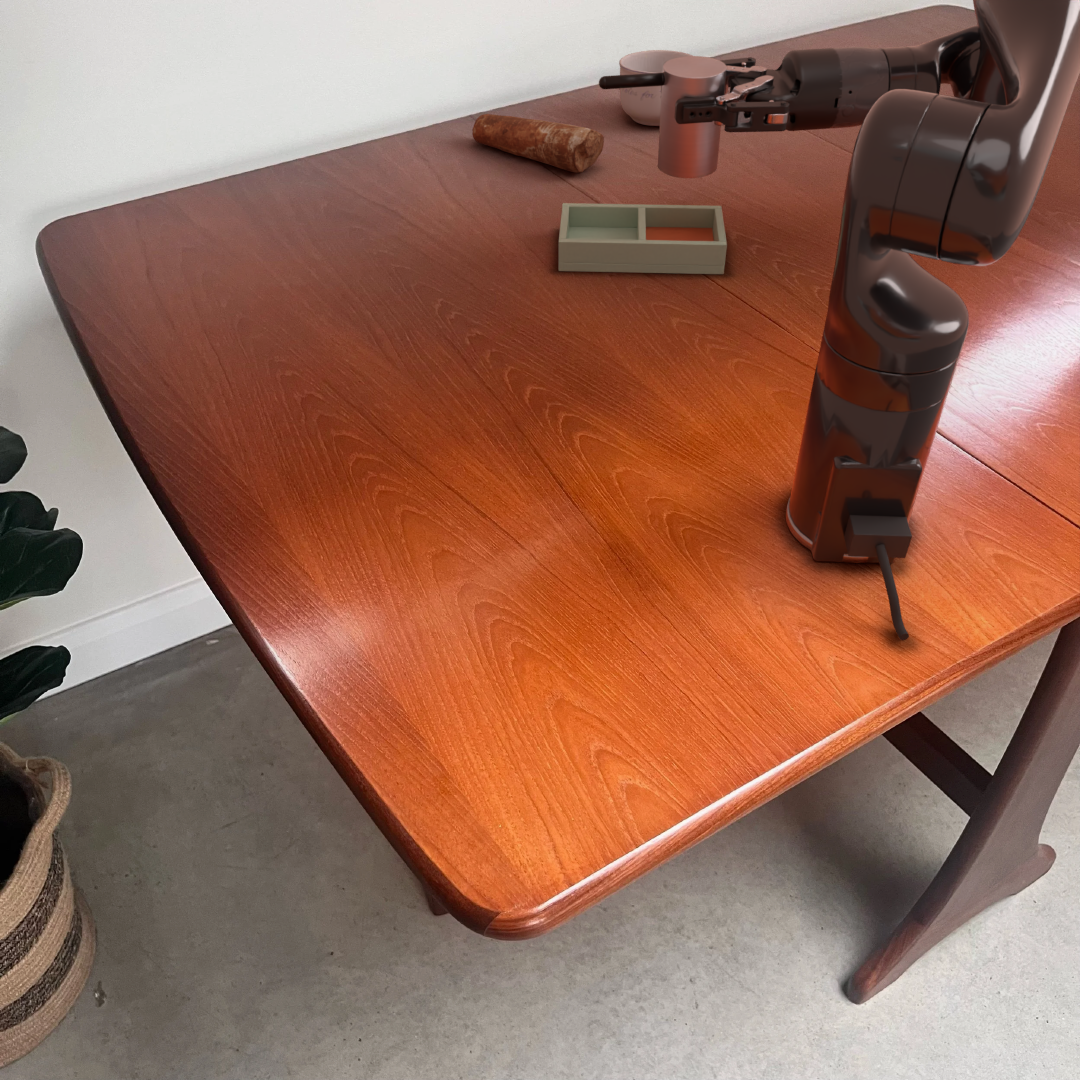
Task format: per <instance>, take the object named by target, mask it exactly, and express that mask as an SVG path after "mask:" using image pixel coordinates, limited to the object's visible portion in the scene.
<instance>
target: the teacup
mask: <svg viewBox="0 0 1080 1080" xmlns="http://www.w3.org/2000/svg"><path fill="white" fill-rule="evenodd" d="M685 56H694V55H692V54H691V53H686V52H683V51H676V50H667V49H651V50H641V51H636V52H632V53H631V52H630V53H629V54H626V55H624V56H622V57H621V58H620V59H619V61H618V65H619V75H630V74H646V73H663V65H664V64H665V63H666V62H667V61H669V60H671V59H674V58H678V57H685ZM661 95H662V93H661V86H650V87H635V88H619V101H620V105H621V108H622V110H623V112H625V114H627V115H628V116H629V117H630V118H631V120H633V121H634V122H635V123H637V124H640V125H643V126H650V127H660V113H661Z"/></svg>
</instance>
